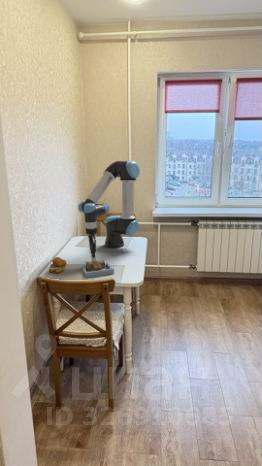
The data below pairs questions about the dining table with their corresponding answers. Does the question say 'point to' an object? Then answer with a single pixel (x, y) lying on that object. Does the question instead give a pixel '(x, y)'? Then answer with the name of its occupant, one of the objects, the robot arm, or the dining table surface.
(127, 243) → the dining table surface
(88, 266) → the t block
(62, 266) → the cheeseburger
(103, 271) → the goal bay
